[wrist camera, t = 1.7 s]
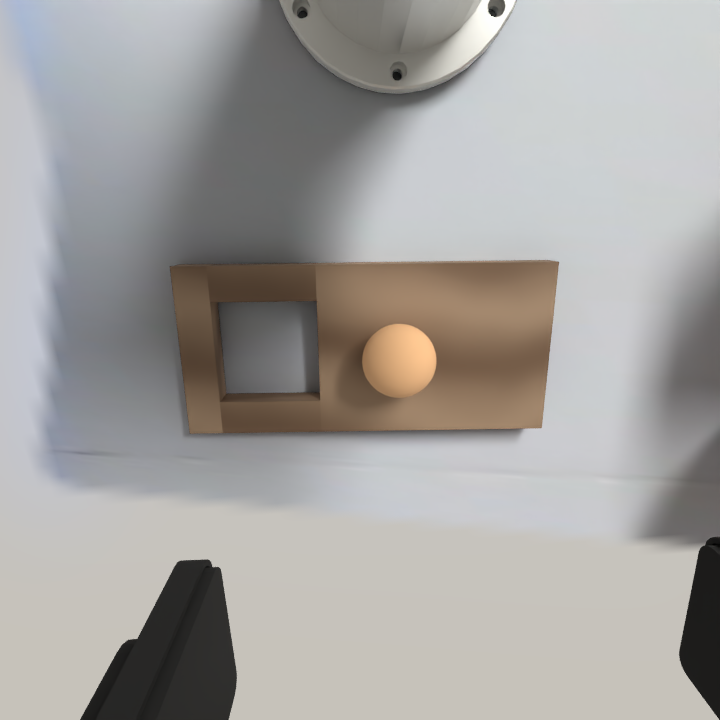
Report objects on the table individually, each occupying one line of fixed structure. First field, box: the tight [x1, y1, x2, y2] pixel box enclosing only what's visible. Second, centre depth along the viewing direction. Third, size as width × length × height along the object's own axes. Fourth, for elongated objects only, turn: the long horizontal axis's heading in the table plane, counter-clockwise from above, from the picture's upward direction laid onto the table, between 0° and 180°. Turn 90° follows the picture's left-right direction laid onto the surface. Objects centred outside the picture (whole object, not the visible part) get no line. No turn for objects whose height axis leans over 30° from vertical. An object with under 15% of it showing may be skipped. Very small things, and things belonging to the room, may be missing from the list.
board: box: [170, 260, 559, 434], centre depth 28 cm, size 10×22×2 cm, turn 91°
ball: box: [362, 324, 437, 398], centre depth 25 cm, size 4×4×4 cm
